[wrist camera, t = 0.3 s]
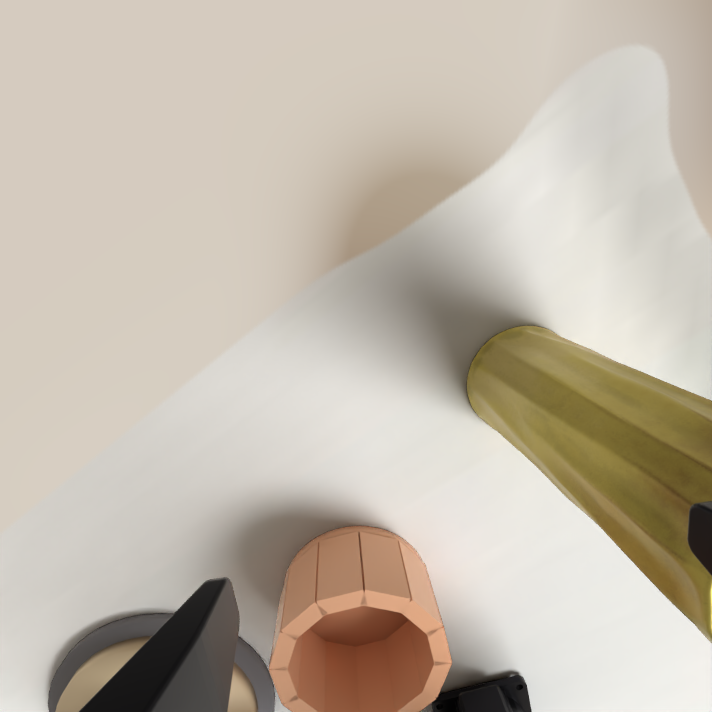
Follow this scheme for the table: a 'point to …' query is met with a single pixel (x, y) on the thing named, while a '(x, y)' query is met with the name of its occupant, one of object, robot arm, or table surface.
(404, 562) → the bowl
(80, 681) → the lid
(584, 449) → the vase
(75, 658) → the mat
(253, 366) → the table surface
